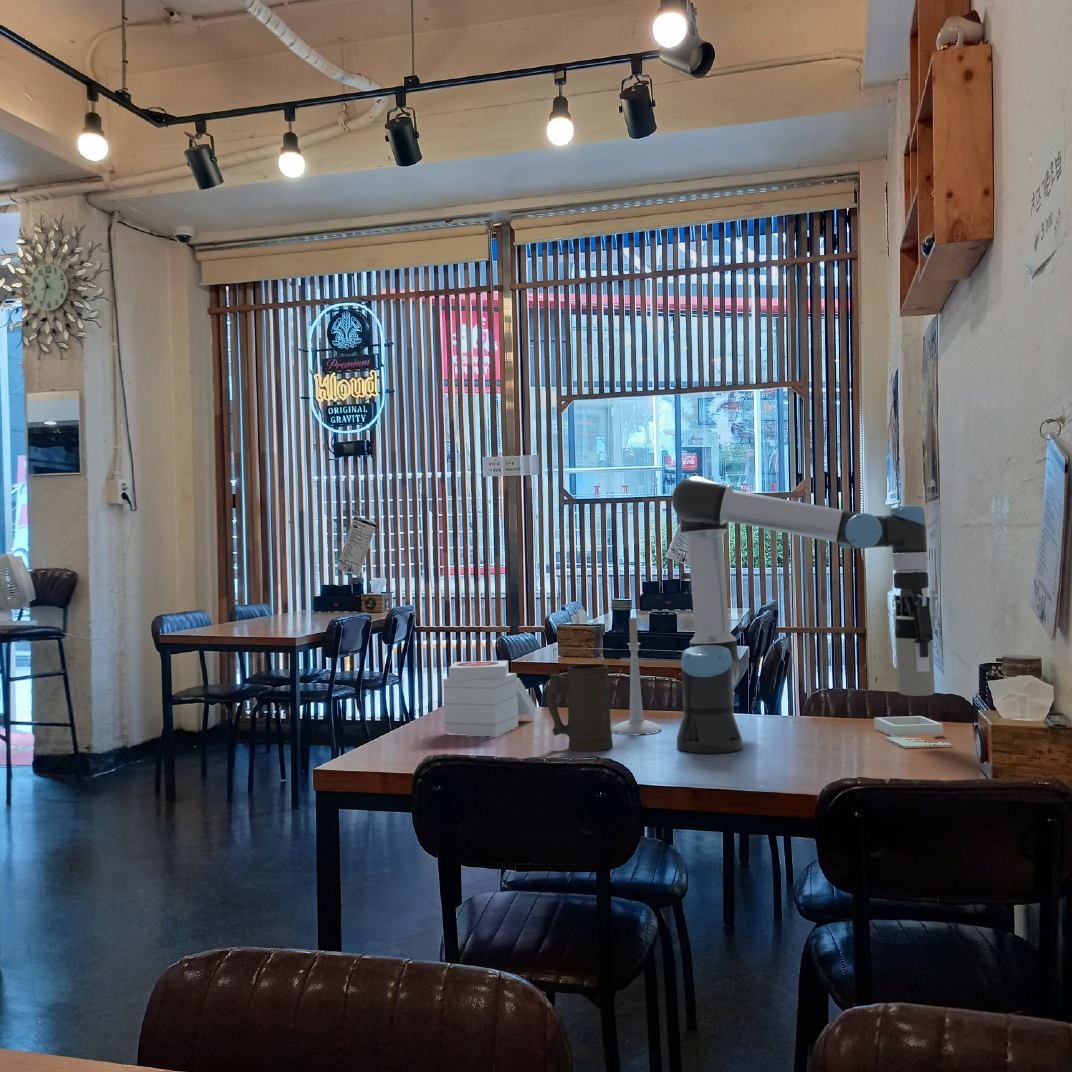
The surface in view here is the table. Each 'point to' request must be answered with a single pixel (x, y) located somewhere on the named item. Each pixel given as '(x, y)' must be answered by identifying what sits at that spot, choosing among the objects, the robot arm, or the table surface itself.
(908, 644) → the travel mug
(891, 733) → the square grey tray
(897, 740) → the mat
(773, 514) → the robot arm
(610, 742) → the beer stein
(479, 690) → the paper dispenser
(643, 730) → the candlestick
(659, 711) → the table surface
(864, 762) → the table surface
